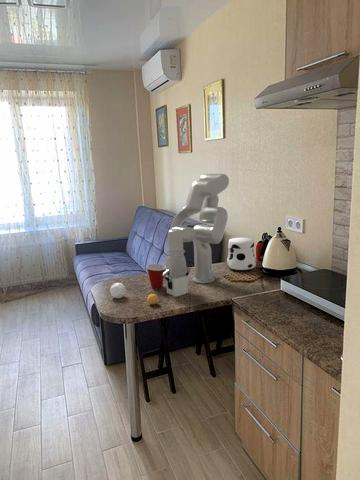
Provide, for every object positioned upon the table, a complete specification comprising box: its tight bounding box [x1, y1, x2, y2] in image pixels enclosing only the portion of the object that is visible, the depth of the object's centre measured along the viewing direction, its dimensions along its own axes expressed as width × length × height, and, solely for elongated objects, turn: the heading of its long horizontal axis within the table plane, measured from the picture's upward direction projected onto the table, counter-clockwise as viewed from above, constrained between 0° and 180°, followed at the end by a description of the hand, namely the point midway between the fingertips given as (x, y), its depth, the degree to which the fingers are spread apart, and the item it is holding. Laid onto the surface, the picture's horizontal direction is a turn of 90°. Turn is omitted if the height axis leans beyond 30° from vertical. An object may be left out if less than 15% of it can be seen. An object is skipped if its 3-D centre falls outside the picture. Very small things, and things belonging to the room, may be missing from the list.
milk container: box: [226, 237, 257, 272], centre depth 223 cm, size 17×17×18 cm
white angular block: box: [165, 275, 189, 297], centre depth 188 cm, size 8×8×9 cm
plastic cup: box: [145, 263, 166, 290], centre depth 197 cm, size 11×11×12 cm
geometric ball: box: [109, 282, 126, 300], centre depth 185 cm, size 8×8×8 cm
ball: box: [146, 293, 159, 306], centre depth 175 cm, size 5×5×5 cm
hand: (177, 286), depth 188 cm, fingers closed on white angular block, 7 cm apart
